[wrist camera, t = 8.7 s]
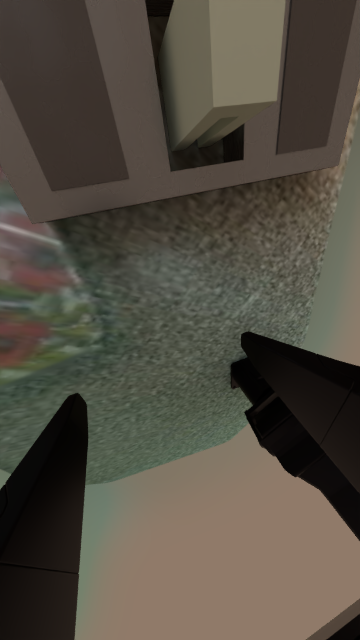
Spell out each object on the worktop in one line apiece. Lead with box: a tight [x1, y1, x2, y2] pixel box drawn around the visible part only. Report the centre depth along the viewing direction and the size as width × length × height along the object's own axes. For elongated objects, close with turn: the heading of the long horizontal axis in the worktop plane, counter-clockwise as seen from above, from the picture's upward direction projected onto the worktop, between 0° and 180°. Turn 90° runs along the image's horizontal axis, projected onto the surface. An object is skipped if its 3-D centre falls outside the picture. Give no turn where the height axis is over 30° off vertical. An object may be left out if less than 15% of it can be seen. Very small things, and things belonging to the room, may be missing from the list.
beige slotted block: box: [158, 0, 286, 152], centre depth 11 cm, size 5×4×8 cm
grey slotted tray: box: [0, 0, 360, 224], centre depth 13 cm, size 11×26×3 cm, turn 100°
